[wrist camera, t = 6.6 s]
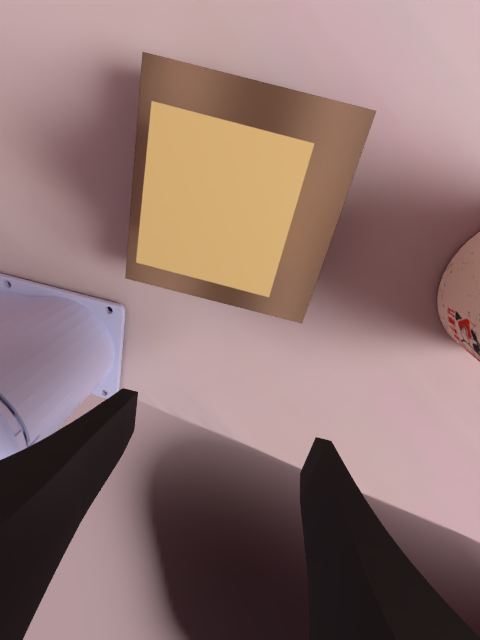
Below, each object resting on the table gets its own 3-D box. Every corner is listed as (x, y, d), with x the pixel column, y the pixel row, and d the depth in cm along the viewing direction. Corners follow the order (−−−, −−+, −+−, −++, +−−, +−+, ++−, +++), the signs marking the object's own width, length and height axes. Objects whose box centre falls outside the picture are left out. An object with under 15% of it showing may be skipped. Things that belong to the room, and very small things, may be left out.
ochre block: (176, 240, 16) (136, 262, 11) (192, 129, 14) (151, 101, 9) (270, 265, 16) (268, 297, 11) (301, 157, 14) (314, 143, 9)
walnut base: (146, 265, 20) (125, 278, 17) (166, 75, 15) (142, 51, 13) (298, 304, 20) (302, 323, 17) (358, 124, 15) (376, 110, 13)
